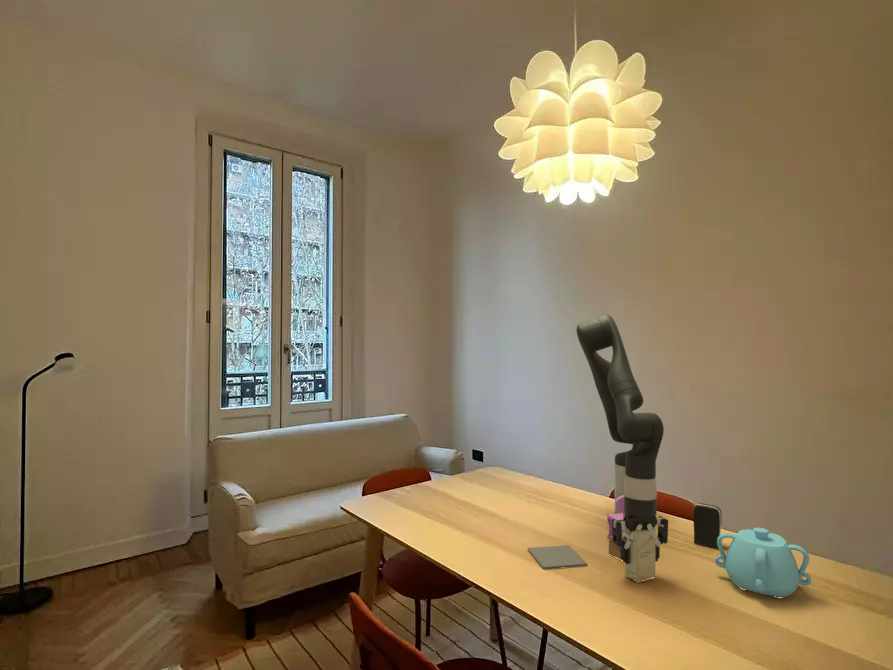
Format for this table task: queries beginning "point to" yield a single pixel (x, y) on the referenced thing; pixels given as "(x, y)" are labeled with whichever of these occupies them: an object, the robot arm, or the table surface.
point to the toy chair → (620, 506)
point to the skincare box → (641, 556)
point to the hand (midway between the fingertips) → (639, 561)
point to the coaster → (556, 556)
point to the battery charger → (707, 524)
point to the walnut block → (614, 548)
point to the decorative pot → (762, 562)
